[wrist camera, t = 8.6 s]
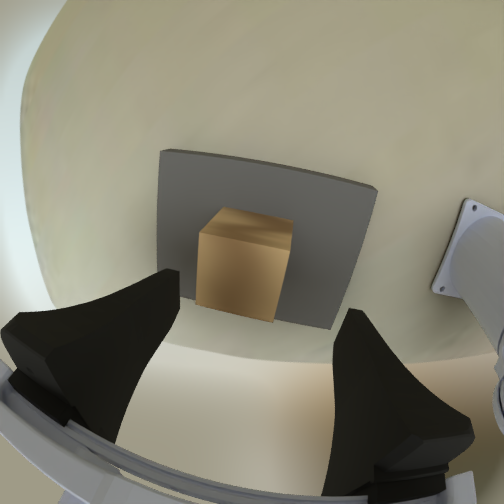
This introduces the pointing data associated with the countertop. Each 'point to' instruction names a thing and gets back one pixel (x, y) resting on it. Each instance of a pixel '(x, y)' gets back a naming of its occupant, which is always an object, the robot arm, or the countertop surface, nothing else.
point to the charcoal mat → (273, 204)
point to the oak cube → (243, 263)
